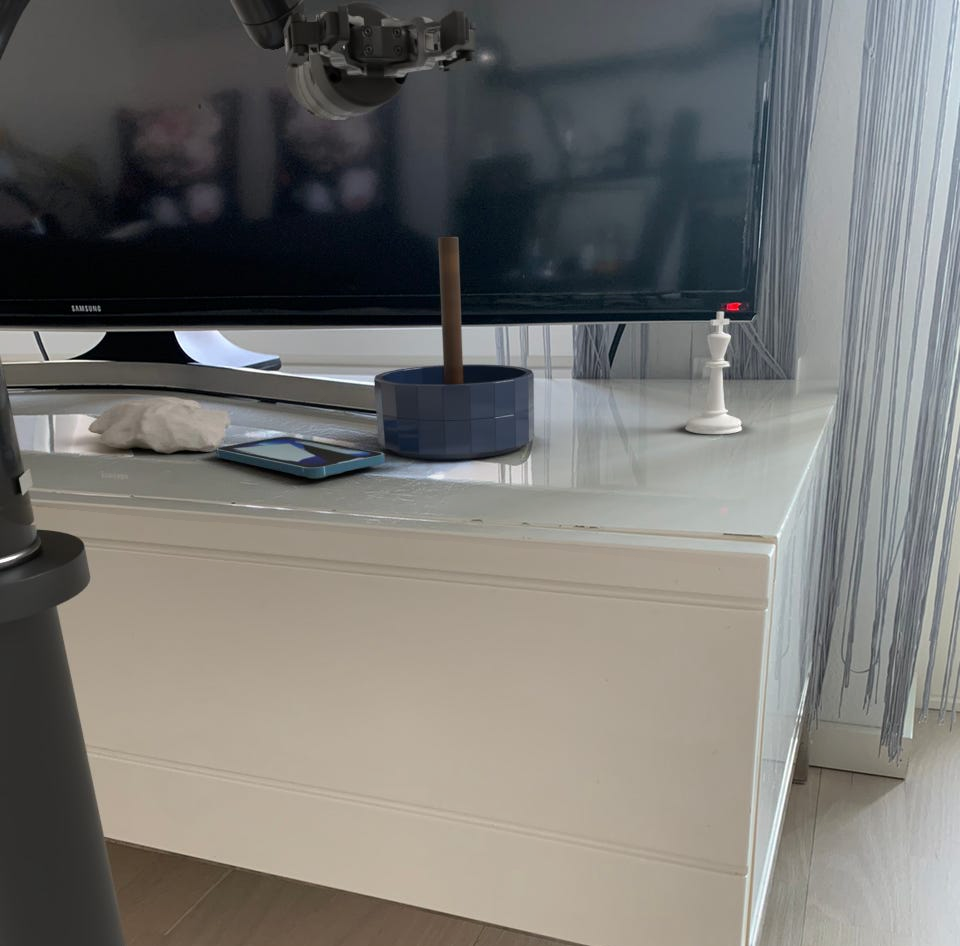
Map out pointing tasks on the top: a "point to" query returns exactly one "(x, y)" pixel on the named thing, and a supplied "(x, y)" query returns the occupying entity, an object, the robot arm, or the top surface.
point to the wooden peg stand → (451, 309)
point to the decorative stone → (162, 425)
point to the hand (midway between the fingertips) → (403, 24)
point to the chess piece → (715, 388)
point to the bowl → (455, 411)
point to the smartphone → (301, 456)
